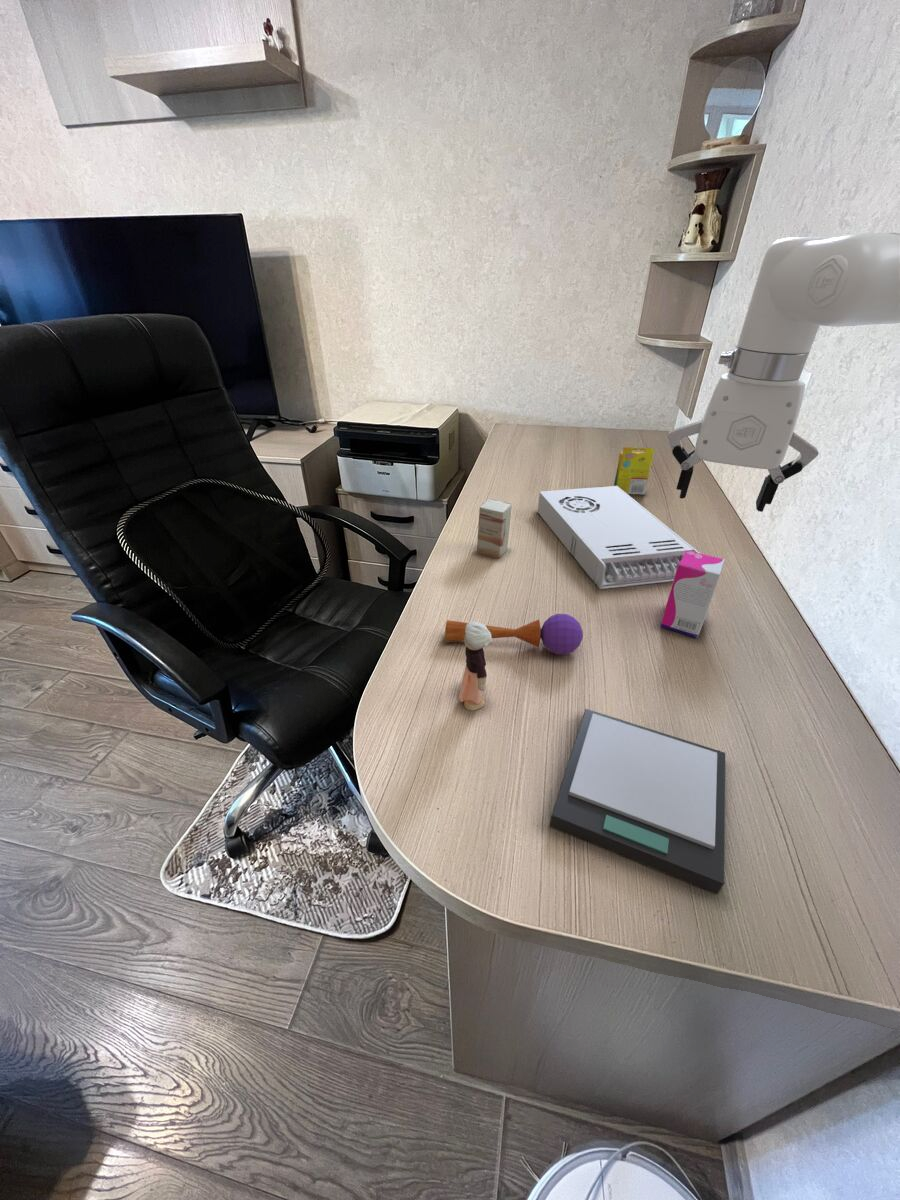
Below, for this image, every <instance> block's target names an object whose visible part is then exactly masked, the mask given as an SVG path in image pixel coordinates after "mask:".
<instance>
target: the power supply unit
mask: <svg viewBox="0 0 900 1200" xmlns="http://www.w3.org/2000/svg"><path fill="white" fill-rule="evenodd" d="M537 512H538V514H539V515H540V516H541V518H542V519H543V520H544V522H545V523H546V524H547V526H548V527H549V528H550V530H551V531H552V532H553V533H554V534H555V535H556V537H557V538H558V539H559V541H560V542H561V543H562V544H563V546H564V547H565V548H566V549H567V550H568V552H569V553H570V554H571V555H572V556H573V558H574V559H575V560H576V561H577V563H578V564H579V565H580V566H581V568H582V569H583V570H584V571H585V573H586V574H587V575H588V576H589V578H590V579H591V580H592V582H593V583H594V584H595V585H596V586H597V588H598V589H599V590H608V589H616V588H626V587H634V586H642V585H643V586H645V585H652V584H653V585H654V584H661V583H670V582H673V581H674V578H675V574H676V571H677V567H678V565H679V563H680V561H681V559H682V557H683V555H684V553H685V551H686V550H688V551H692V552H696V553H700V554H702V553H701V552H699V551H698V549H696V548H695V547H694V546H692V545H691V544H690V543H688V542H687V541H686V540H685V539H684V538H682V537H681V536H680V535H679V534H677V533H676V532H675V531H674V530H672V529H671V528H670V527H669V526H668V525H666V524H665V523H664V522H663V521H661V520H660V519H659V518H658V517H657V516H655V515H654V514H652V513H651V512H650V511H649V510H648V509H646V507H644V506H643V505H642V504H641V503H639V502H638V501H637V500H635V499H634V498H633V497H631V495H630V494H627V493H625V492H624V491H623V490H622V489H620V488H619V487H618V486H614V485H610V486H597V487H583V488H582V487H581V488H570V489H555V490H544V491H543V490H542V491H539V494H538V504H537Z"/></svg>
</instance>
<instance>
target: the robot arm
mask: <svg viewBox="0 0 900 1200" xmlns="http://www.w3.org/2000/svg"><path fill="white" fill-rule="evenodd" d="M762 259H763V260H762V262H761V266H760V268H759V272H758V275H757V278H756V282H755V284H754V285H755V286H754V289H753V292H752V296H751V298H750V301H749V305H748V308H747V312H746V313H745V314H746V315H745V318H744V321H743V324H742V328H741V331H740V334H739V338H738V341H737V344H736V345H735V348H734V349H732V351H731V350H730V351H728V352H726V351H721V353H720V356H719V359H718V362H717V365H724V367H727V369H729V370H728V372H726V373H723V374H721V376H720V378H719V379H718V381H717V384H716V385H715V388H714V390H713V392H712V395H711V398H710V400H709V402H708V405H707V407H706V410H705V413H704V416H703V417H702V419H701V420H698V421H695V422H691V423H688V424H685V425H683V426H679V427H677V428H673V429H671V430H669V432H668V435H667V436H668V437H667V438H668V441H669V445H670V448H671V454H672V456H673V457H674V458H675V460H676V461H677V463H678V464H679V466H680V469H681V470H680V473H679V477H678V481H677V484H676V487H675V490H678V491H680V494H679V499H681V500H683V499H686V496H687V493H688V490H689V486H690V485H691V484H690V483H691V480H692V477H693V473H694V469H695V465H696V464H698V463H699V462H701V461H705V462H708V463H709V462H710V463H716V464H721V465H722V464H723V465H729V466H736V467H744V468H752V469H758V470H767V471H768V473H769V474H768V475H767V476H765V478H764V480H763V483H762V485H761V488H760V490H759V492H758V495H757V498H756V501H755V508H756V511H757V512H761V513H763V512H764V509H765V507H766V505H771V504H772V502H773V500H774V497H775V495H776V492H777V490H778V489H779V485H780V484H783V483H784V482H785V480H787V479H789V478H791V477H793V476H795V475H797V474H799V473H801V472H802V471H803V469H804V468H805V467H806V466H808V465H809V464H810V463H811V462H812V461H814V460H815V459H816V458H817V457H818V456H819V454H820V453H819V450H818V448H817V447H816V446H814V445H813V444H811V443H810V442H809V441H807V440H805V439H804V438H803V437H801V436H800V435H799V434H797V433H795V428H796V425H797V422H798V418H799V415H800V411H801V408H802V404H803V399H804V397H805V396H804V395H805V390H806V383H805V382H804V381H802V380H801V379H800V378H801V376H802V373H803V370H804V368H805V365H806V363H807V360H808V358H809V355H810V352H811V350H812V348H813V347H812V346H813V344H814V341H815V339H816V336H817V334H818V330H819V328H820V326H822V327H835V328H839V327H857V326H868V325H869V326H871V325H891V324H892V325H893V324H895V325H896V324H900V232H861V233H853V234H846V235H842V236H836V237H829V236H794V237H784V238H781V239H776V241H774V242H773V243H772V244H771V245H770V246H769V247H768V248H767V249H766V252H765V253H764V256H763V258H762ZM694 435H697V438H696V442H695V446H694V448H693V449H691V450H690V452H688V451H687V450H686V449H685V447H684V446H683V444H682V440H683V439H684V438H687V437H691V436H694ZM789 447H791V448H793V449H794V450H795V451H797V452H798V453H800V454H799V455H798V456H797V457H796V458H795V459H793V460H792V461H789V462H788V463H786V464H784V465H781V464H782V463H783V461H784V459H785V457H786V454H787V451H788V448H789Z"/></svg>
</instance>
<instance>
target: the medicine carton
mask: <svg viewBox="0 0 900 1200" xmlns="http://www.w3.org/2000/svg"><path fill="white" fill-rule="evenodd" d="M512 508H513V504H512V503H509V502H506V501H501V500H498V499H497V500H496V499H492V498H491V499H490V498H487V499H486V500H485V501H483V503H481V504H480V506H479V510H478V513H479V514H478V526H477V540H476V541H477V544H476V553H477V554H480V555H483V556H487V557H489V558H490V557H491V558H494V559H498V560H499V559H500V558H502V556H503V555H504V554H505V553H506V552H507V551H508V548H509V547H508V545H509V536H510V527H511V518H512Z"/></svg>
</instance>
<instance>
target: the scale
mask: <svg viewBox="0 0 900 1200" xmlns="http://www.w3.org/2000/svg"><path fill="white" fill-rule="evenodd" d="M569 756H570V757H569V759H568V763H567V765H566V768H565V772H564V775H563V778H562V781H561V784H560V788H559V791H558V793H557V797H556V800H555V803H554V806H553V809H552V812H551V816H550V821H549V827H551V828H553V829H556V830H558V831H560V832H563V833H565V834H568V835H571V836H573V837H575V838H578V839H581V840H583V841H585V842H588V843H590V844H592V845H594V846H598V847H599V848H600V847H601V848H603V849H605V850H607V851H609V852H611V853H614V854H618V855H619V856H622V857H625V858H627V859H630V860H632V861H635V862H637V863H640V864H642V865H644V866H646V867H649V868H652V869H653V870H654V869H655V870H657V871H659V872H661V873H664V874H667V875H669V876H671V877H674V878H677V879H679V880H681V881H684V882H686V883H689V884H691V885H693V886H696V887H699V888H701V889H703V890H706V891H708V892H711V893H714V894H716V895H718V894H719V893H720V891H721V889H722V888H723V887H724V885H725V844H726V843H725V839H726V838H725V837H726V835H725V832H726V830H725V829H726V823H725V822H726V812H725V811H726V752H725V751H722V750H717V749H715V748H712V747H708V746H705V745H702V744H699V743H696V742H693V741H690V740H687V739H686V740H685V739H683V738H680V737H677V736H674V735H670V734H667V733H664V732H661V731H657V730H654V729H651V728H648V727H646V726H642V725H638V724H636V723H632V722H631V721H630V722H629V721H626V720H624V719H620V718H617V717H614V716H611V715H607V714H604V713H601V712H597V711H595V710H591V709H589V708H585V709H584V712H583V715H582V718H581V722H580V725H579V727H578V731H577V734H576V737H575V740H574V744H573V747H572V750H571V753H570V755H569Z"/></svg>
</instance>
